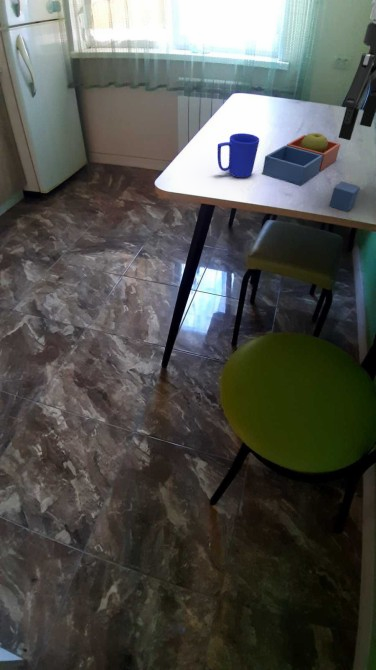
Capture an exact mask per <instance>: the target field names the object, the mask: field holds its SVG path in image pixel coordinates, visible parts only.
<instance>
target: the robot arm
mask: <svg viewBox="0 0 376 670" xmlns="http://www.w3.org/2000/svg"><path fill="white" fill-rule="evenodd" d="M370 5H371V7H372V9H371V12H370V16H369V19H370V20H371V22H369V23H368V24H367V26H366V29H365V33H364V38H363V42H362V43H363V44H364V45H365V46H367V47H369V50H368V53H364V52H363V53H362V54H361V57H360V61H359V64H358V66H357V69H356V71H355V73H354V77H353V78H352V81H351V85H350V87H349V89H348V92H347V94H346V96H345V99H344V101H343V102H342V107H343V108H345V111H344V115H343V119H342V123H341V126H340V130H339V133H338V138H339V139H343V140H347V141H350V140H351V139H352V136H353V133H354V129H355V126H356V122H357V119H358V116H359V112H360V108H359V107H360V105H361V102H362V100H363V98H364V97H365V95H366V93H367V91H368V88H369V86H370V91H369V92H370V95H367V98H366V101H365V105H364V109H363V112H362V114H361V115H362V116H361V118H360V122H359V126H362V127H366V128H367V127H368V128H371V127H372V125H373V123H374V122H373V121H374V118H375V116H376V0H372V1H371V3H370Z"/></svg>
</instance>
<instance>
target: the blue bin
mask: <svg viewBox="0 0 376 670" xmlns="http://www.w3.org/2000/svg"><path fill="white" fill-rule="evenodd" d="M322 157H323V155H319V154H316V153H312V152H308V151H304V150H301V149H297V148H293V147H290V146H287V144H285V145H283V146H281V147H279V148H278V149H276V150H273V151H272V152H270V153H269V154H266V155H265V156H264V162H263V167H262V173H261V174H262V175H265V176H268V177H271V178H274V179H278V180H281V181H284V182H287V183H290V184H294V185H297V186H302V185H304V184H305V183H307V182H308V181H309V180H311V179H312V178H313V177H315V176H317V175H318V174H319V173H320V172H319V169H320V165H321V161H322Z"/></svg>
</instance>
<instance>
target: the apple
mask: <svg viewBox="0 0 376 670" xmlns="http://www.w3.org/2000/svg"><path fill="white" fill-rule="evenodd" d="M305 135H306V136H305V137H304V138H303V140H302V142H301V148H305V149H309V150H313V151H317V152H320V153H325V151H326V149H327V146H328V141H329V140H328V139H327V137H326V136H325V135H324V134H322V133H320V132H319V133H318V132H310V133H307V134H305Z"/></svg>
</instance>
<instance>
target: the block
mask: <svg viewBox="0 0 376 670" xmlns="http://www.w3.org/2000/svg"><path fill="white" fill-rule="evenodd" d="M360 190H361V186H359V185H356V184H352V183H349V182H345V181H340V182H339V183H338V184H336V185H335V186H334V187H333V190H332V194H331V197H330V201H329V204H328V206H329V207H331V208H334V209H337V210H341V211H343V212H347V213H348V212H349V211H350V210H351V209H352V208H353V207H354V206H355V204H356V201H357V199H358V195H359V192H360Z"/></svg>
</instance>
